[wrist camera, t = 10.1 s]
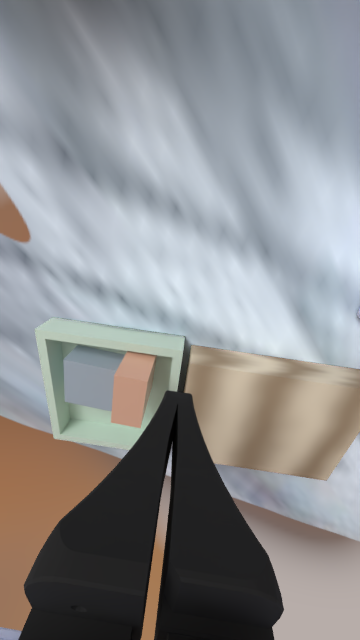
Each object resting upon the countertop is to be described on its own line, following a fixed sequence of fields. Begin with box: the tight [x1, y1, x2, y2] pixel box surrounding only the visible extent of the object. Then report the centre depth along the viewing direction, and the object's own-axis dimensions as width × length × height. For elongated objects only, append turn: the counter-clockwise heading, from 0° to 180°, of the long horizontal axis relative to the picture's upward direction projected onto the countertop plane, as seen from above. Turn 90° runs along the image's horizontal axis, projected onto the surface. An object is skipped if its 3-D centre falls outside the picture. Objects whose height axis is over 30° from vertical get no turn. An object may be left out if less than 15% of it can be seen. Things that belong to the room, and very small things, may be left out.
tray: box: [35, 317, 185, 450], centre depth 22 cm, size 13×14×2 cm
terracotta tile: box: [111, 351, 157, 428], centre depth 19 cm, size 5×5×2 cm
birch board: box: [183, 345, 360, 481], centre depth 22 cm, size 16×12×3 cm
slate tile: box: [63, 345, 125, 411], centre depth 21 cm, size 5×5×2 cm
